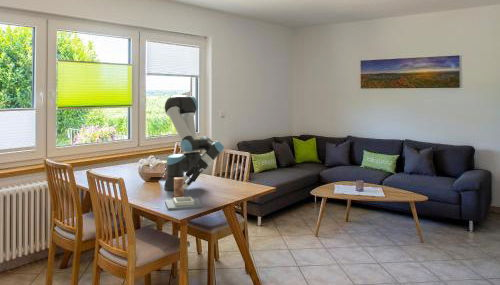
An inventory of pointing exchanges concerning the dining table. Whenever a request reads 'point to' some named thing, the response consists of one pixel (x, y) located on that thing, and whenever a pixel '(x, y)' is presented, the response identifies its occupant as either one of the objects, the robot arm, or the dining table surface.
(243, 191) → the dining table surface
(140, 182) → the dining table surface
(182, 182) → the pillar
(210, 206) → the dining table surface
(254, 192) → the dining table surface
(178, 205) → the baseplate
